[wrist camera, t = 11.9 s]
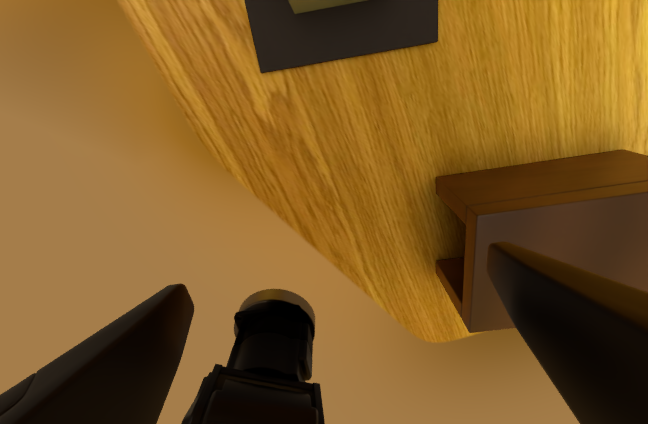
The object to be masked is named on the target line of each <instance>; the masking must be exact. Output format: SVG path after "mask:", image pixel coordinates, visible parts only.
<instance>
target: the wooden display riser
mask: <svg viewBox="0 0 648 424" xmlns="http://www.w3.org/2000/svg"><path fill="white" fill-rule="evenodd" d="M436 194H437V195H438V196H439V197H440V198H441V199H442V200H443V201H444V202H445V203H446V204H447V206H448V207H449V208H450V209H451V210H452V211H453V212H454V213H455V214H456V215H457V216H458V217H459V218H460V220H461V221H462V222H463V223H464V224H465V225H466V241H465V257H462V258H455V259H447V260H439V261H436V274H437V276H438V277H439V279H440V281H441V283H442V285H443V286H444V288H445V290H446V292H447V293H448V295H449V297H450V299H451V301H452V302H453V304H454V306H455V308H456V310H457V311H458V313H459V315H460V317H461V318H462V320H463V322H464V324H465V326H466V327H467V329H468V331H469V332H470V333H474V332H483V331H492V330H501V329H509V328H516V327H515V325H514V323H513V322H512V320H511V318H510V316H509V315H508V313H507V311H506V309H505V307H504V305H503V303H502V301H501V299H500V297H499V295H498V294H497V292H496V290H495V288H494V286H493V284H492V282H491V280H490V278H489V276H488V274H487V269H486V265H487V254H488V246H489V245H490V244H491V243H495V242H502V241H506V242H509V243H512V244H514V245H517V246H520V247H523V248H526V249H528V250H531V251H534V252H537V253H540V254H542V255H545V256H548V257H551V258H553V259H556V260H559V261H562V262H565V263H567V264H570V265H573V266H576V267H578V268H581V269H584V270H587V271H590V272H592V273H595V274H598V275H601V276H603V277H606V278H609V279H612V280H615V281H617V282H620V283H623V284H626V285H628V286H631V287H634V288H637V289H640V290H642V291H645V292H648V156H646V155H643V154H639V153H635V152H631V151H627V150H617V151H611V152H604V153H597V154H590V155H583V156H577V157H570V158H563V159H556V160H550V161H543V162H536V163H529V164H522V165H516V166H509V167H502V168H495V169H488V170H482V171H475V172H468V173H461V174H455V175H448V176H441V177H436Z"/></svg>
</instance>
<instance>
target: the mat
mask: <svg viewBox="0 0 648 424" xmlns="http://www.w3.org/2000/svg"><path fill="white" fill-rule="evenodd" d="M245 5H246V9H247V13H248V18H249V22H250V27H251V31H252V36H253V40H254V45H255V49H256V53H257V58H258V62H259V67H260V71H261V73H265V72H271V71H276V70H282V69H288V68H293V67H299V66H305V65H310V64H316V63H322V62H327V61H333V60H338V59H344V58H350V57H355V56H361V55H367V54H372V53H378V52H384V51H389V50H395V49H401V48H406V47H412V46H417V45H423V44H429V43H434V42H438V0H366V1H361V2H356V3H350V4H345V5H340V6H335V7H330V8H324V9H319V10H314V11H309V12H303V13H298V14H295V13H294V11H293V9H292V7H291V5H290V3H289V1H288V0H245Z"/></svg>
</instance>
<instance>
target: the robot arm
mask: <svg viewBox="0 0 648 424" xmlns="http://www.w3.org/2000/svg"><path fill="white" fill-rule="evenodd" d="M486 269H487V274H488V276H489V278H490V280H491V282H492V284H493V286H494V288H495V290H496V292H497V294H498V295H499V297H500V299H501V301H502V303H503V305H504V307H505V309H506V311H507V313H508V315H509V316H510V318H511V320H512V322H513V323H514V325H515V327H516V328H517V330H518V331H519V333H520V334H521V336H522V337H523V339H524V340H525V342H526V343H527V345H528V346H529V348H530V349H531V351H532V352H533V354H534V355H535V357H536V358H537V360H538V361H539V363H540V364H541V366H542V367H543V369H544V370H545V372H546V373H547V375H548V376H549V378H550V379H551V381H552V382H553V384H554V385H555V387H556V388H557V389H558V391H559V393H560V394H561V396H562V397H563V399H564V400H565V402H566V403H567V405H568V406H569V408H570V409H571V411H572V412H573V414H574V415H575V417H576V418H577V420H578V421H579V423H580V424H648V292H645V291H642V290H640V289H637V288H634V287H631V286H628V285H626V284H623V283H620V282H617V281H615V280H612V279H609V278H606V277H603V276H601V275H598V274H595V273H592V272H590V271H587V270H584V269H581V268H578V267H576V266H573V265H570V264H567V263H565V262H562V261H559V260H556V259H553V258H551V257H548V256H545V255H542V254H540V253H537V252H534V251H531V250H528V249H526V248H523V247H520V246H517V245H514V244H512V243H509V242H506V241H502V242H495V243H491V244H490V245H489V246H488V254H487V265H486ZM295 309H296V310H297V311H296V310H295ZM193 313H194V304H193V302H192V300H191V297H190V295H189V293H188V290H187V289H186V287H185V285H183V284H175V285H169V286H167V287H165V288H164V289H162V290H161V291H159V292H158V293H156V294H155V295H153V296H152V297H150V298H149V299H147V300H145V301H144V302H142V303H141V304H139V305H138V306H136V307H135V308H133V309H132V310H130V311H129V312H127V313H126V314H124V315H122V316H121V317H119V318H118V319H116V320H115V321H113V322H112V323H110V324H109V325H107V326H106V327H104V328H103V329H101V330H99V331H98V332H96V333H95V334H93V335H92V336H90V337H89V338H87V339H86V340H84V341H83V342H81V343H80V344H78V345H77V346H75V347H74V348H72V349H70V350H69V351H67V352H66V353H64V354H63V355H61V356H60V357H58V358H57V359H55V360H54V361H52V362H50V363H49V364H47V365H46V366H44V367H43V368H41V369H40V370H38V371H37V373H34V374H32V375H30V376H29V377H27V378H26V379H24V380H23V381H21V382H20V383H18V384H17V385H15V386H14V387H12V388H10V389H9V390H7V391H6V392H4V393H3V394H1V395H0V424H156V423H157V421H158V418H159V415H160V413H161V410H162V408H163V405H164V402H165V400H166V397H167V395H168V392H169V389H170V387H171V384H172V381H173V379H174V376H175V374H176V371H177V369H178V366H179V363H180V360H181V357H182V354H183V350H184V346H185V343H186V339H187V335H188V332H189V328H190V324H191V320H192V317H193ZM238 316H240V317H238ZM234 320H235V323H236V326H237V328H238V333H237V336H236V339H235V343H234V345H233V348H232V351H231V354H230V357H229V360H228V363H227V366H226V367H223V366H222V365H219V364H215V366H214V369H213V371H212V373H211V372H210V373H209V375H208V376H207V377H204V379H203V381H202V384H201V386H200V389H199V392H198V394H197V396H196V398H195V400H194V402H193V404H192V405H191V407H190V409H189V410H188V412H187V414H186V415H185V417H184V419H183V421H182V424H324V415H323V407H322V399H321V391H320V384H318V383H313V384H311V383H306V382H305V380H309V379H310V378H311V376H312V354H313V340H312V336H311V332H310V328H309V324H308V323H305V321H304V317H303V313H302V309H301V307H300V306H299V305H287V306H279V307H271V308H263V309H254V310H246V311H239V312H236V313H235V316H234Z"/></svg>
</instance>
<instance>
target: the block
mask: <svg viewBox="0 0 648 424" xmlns="http://www.w3.org/2000/svg"><path fill="white" fill-rule="evenodd" d="M288 1H289V3H290V5H291V7H292V9H293V11H294V13H295V14H298V13H303V12H309V11H314V10H319V9H324V8H330V7H335V6H340V5H345V4H350V3H356V2H361V1H366V0H288Z"/></svg>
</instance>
